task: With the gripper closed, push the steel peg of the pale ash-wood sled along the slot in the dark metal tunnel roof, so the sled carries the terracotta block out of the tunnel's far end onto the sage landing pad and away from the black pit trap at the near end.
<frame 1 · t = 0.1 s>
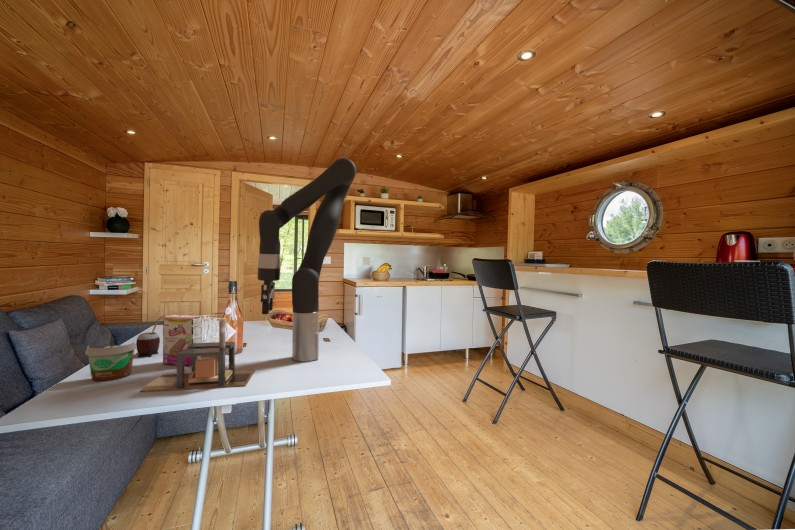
hand: (267, 312, 124), 17 cm above the table, tool pointing down, fingers open, 8 cm apart
tunnel: (207, 380, 103), on the table
sled: (211, 349, 103), point 9 cm above the table, slide at 0.0 cm, touching block
block: (207, 374, 103), point 2 cm above the table, touching sled
mate gourd: (149, 355, 129), on the table
candy bar box: (182, 364, 119), on the table
food container: (109, 379, 104), on the table
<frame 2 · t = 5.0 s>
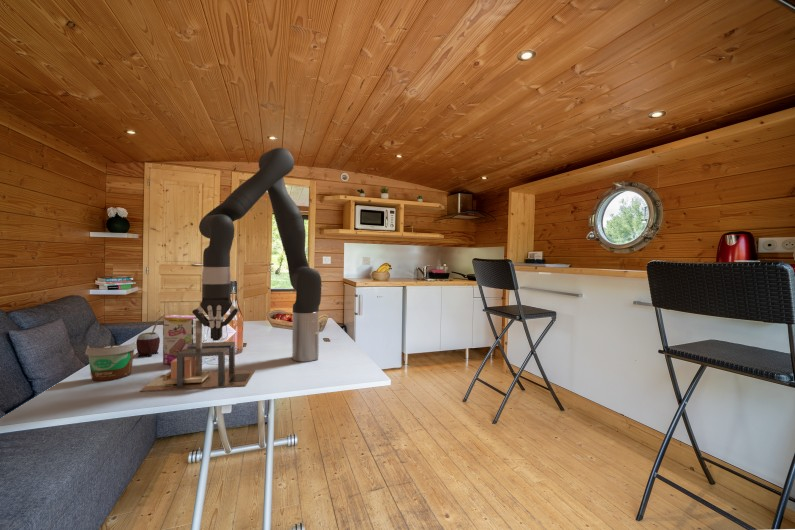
hand: (216, 339, 103), 12 cm above the table, tool pointing down, fingers closed
sled: (187, 350, 102), point 9 cm above the table, slide at 6.4 cm, touching block, hand
block: (184, 375, 102), point 2 cm above the table, touching sled
everything else where it was.
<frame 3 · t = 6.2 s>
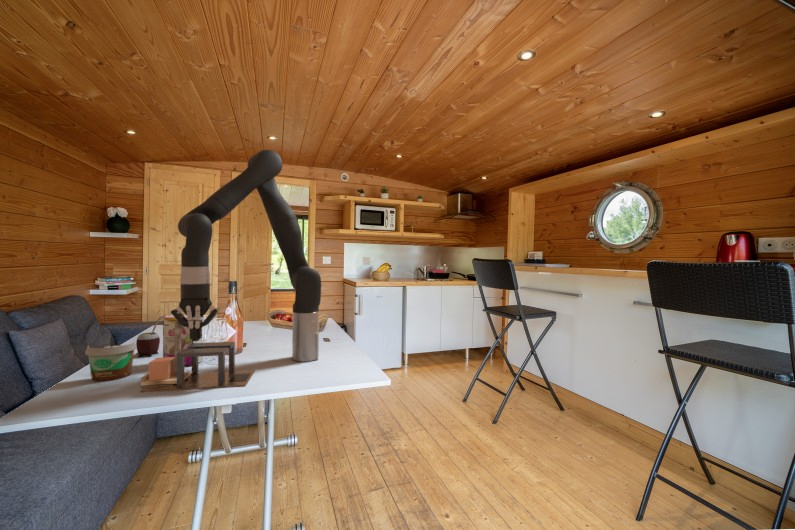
hand: (195, 340, 102), 12 cm above the table, tool pointing down, fingers closed
sled: (166, 350, 101), point 9 cm above the table, slide at 12.1 cm, touching block, hand
block: (162, 376, 101), point 2 cm above the table, touching sled
everything else where it was.
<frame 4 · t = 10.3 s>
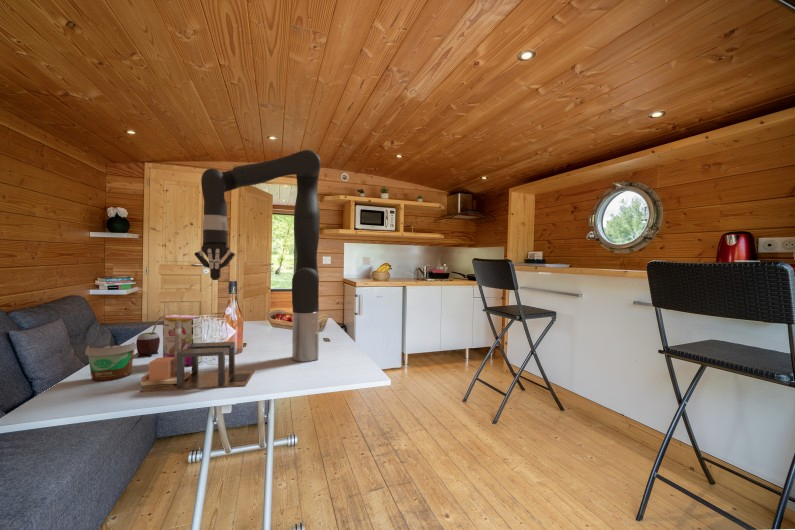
hand: (215, 279, 119), 29 cm above the table, tool pointing down, fingers closed
sled: (166, 350, 101), point 9 cm above the table, slide at 12.0 cm, touching block
everything else where it was.
at the end: sled slide at 12.0 cm; block inside the target area (0.5 cm from its centre), point 1.8 cm above the table; block tilted 0° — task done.
